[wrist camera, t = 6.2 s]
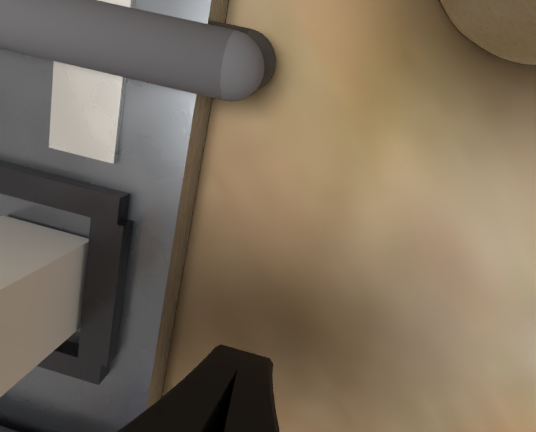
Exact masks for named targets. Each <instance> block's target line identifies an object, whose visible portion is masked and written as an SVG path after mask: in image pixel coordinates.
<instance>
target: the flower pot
mask: <svg viewBox="0 0 536 432" xmlns="http://www.w3.org/2000/svg"><path fill="white" fill-rule="evenodd" d="M440 2H441V4H442V6H443V8H444V9H445V11H446V13H447V15H448V16H449V18H450V19H451V21H452V22H453V24H454V25H455V26H456V27H457V29H458V30H459V31H460V32H461V33H462V34H463V35H464V36H466V37H467V38H469V39H470V40H471V41H473V42H474V43H475V44H477V45H478V46H480V47H482V48H483V49H485V50H487V51H488V52H490V53H492V54H494V55H496V56H498V57H500V58H502V59H506V60H509V61H513V62H516V63H521V64H528V65H536V0H440Z"/></svg>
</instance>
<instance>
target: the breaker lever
mask: <svg viewBox="0 0 536 432" xmlns="http://www.w3.org/2000/svg"><path fill="white" fill-rule="evenodd" d="M88 242H89V238H85V237H81V236H77V235H74V234H70V233H66V232H63V231H59V230H55V229H52V228H48V227H44V226H41V225H37V224H33V223H30V222H26V221H22V220H18V219H15V218H11V217H7V216H4V215H3V216H0V397H1V396H2V395H4V394H5V393H6V392H7V391H8V390H9V389H10V388H12V387H13V386H14V385H15V384H16V383H17V382H18V381H20V380H21V379H22V378H23V377H24V376H25V375H27V374H28V373H29V372H30V371H31V370H32V369H33V368H35V367H36V366H37V365H38V364H39V363H40V362H41V361H43V360H44V359H45V358H46V357H47V356H48V355H50V354H51V353H52V352H53V351H54V350H55V349H56V348H58V347H59V346H60V345H61V344H62V343H63V342H64V341H66V340H67V339H68V338H69V337H70V336H71V335H72V334H74V333H75V332H76V331H77V330H78V329H79V328H81V318H82V307H83V296H84V285H85V274H86V264H87V253H88Z"/></svg>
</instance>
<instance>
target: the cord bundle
mask: <svg viewBox="0 0 536 432" xmlns="http://www.w3.org/2000/svg"><path fill="white" fill-rule="evenodd" d="M0 49H4V50H9V51H13V52H17V53H22V54H26V55H30V56H35V57H39V58H43V59H48V60H52V61H56V62H61V63H65V64H69V65H74V66H78V67H82V68H87V69H91V70H95V71H100V72H104V73H108V74H112V75H117V76H121V77H125V78H130V79H134V80H138V81H143V82H147V83H151V84H156V85H160V86H164V87H169V88H173V89H177V90H182V91H186V92H190V93H195V94H199V95H203V96H208V97H212V98H216V99H221V100H225V101H238V100H242V99H245V98H246V97H248V96H250V95H251V94H252V93H253V92H255V91H256V90H257V89H259V88H261V87H263V86H264V85H265V84H266V83H267V82H268V81H269V79H270V78H271V76H272V74H273V72H274V69H275V53H274V49H273V47H272V45H271V43H270V42H269V40H268V39H267V38H266V37H265V36H264V35H263V34H261V33H260V32H258V31H255V30H252V29H249V28H244V27H239V26H235V25H230V24H225V23H221V22H216V21H214V22H212V23H211V24H205V23H200V22H196V21H191V20H186V19H182V18H177V17H172V16H168V15H163V14H158V13H154V12H149V11H144V10H140V9H135V8H130V7H126V6H121V5H116V4H112V3H107V2H103V1H98V0H0Z"/></svg>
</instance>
